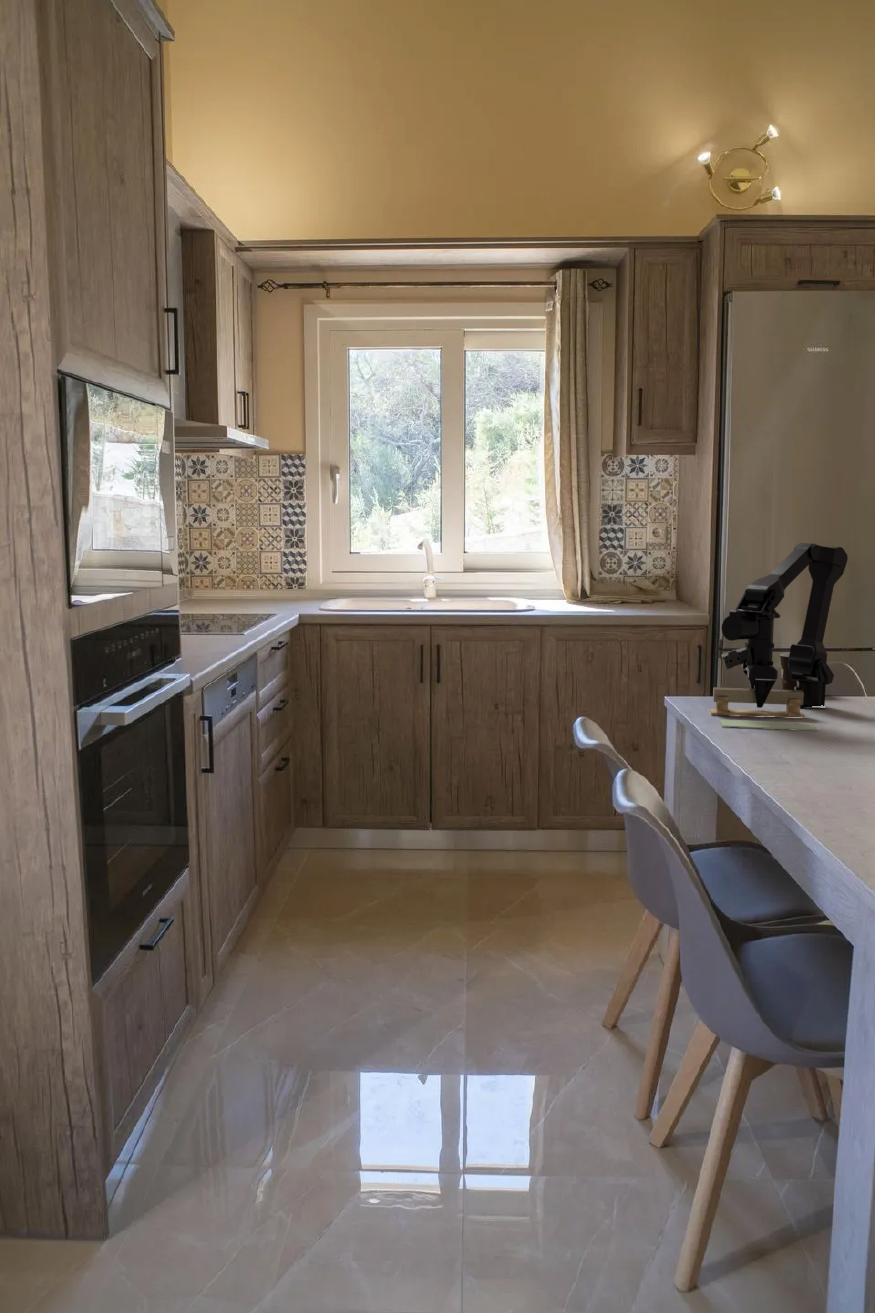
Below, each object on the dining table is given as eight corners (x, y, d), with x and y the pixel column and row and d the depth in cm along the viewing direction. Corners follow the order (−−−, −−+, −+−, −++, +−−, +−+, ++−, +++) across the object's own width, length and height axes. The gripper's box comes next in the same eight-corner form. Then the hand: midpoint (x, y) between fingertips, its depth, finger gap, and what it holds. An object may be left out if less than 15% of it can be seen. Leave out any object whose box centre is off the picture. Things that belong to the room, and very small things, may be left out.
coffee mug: (806, 696, 261) (808, 658, 260) (773, 693, 266) (775, 655, 265) (820, 690, 270) (822, 653, 269) (788, 687, 276) (789, 651, 274)
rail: (801, 703, 235) (801, 690, 235) (803, 705, 232) (803, 692, 232) (713, 699, 239) (713, 687, 239) (713, 701, 237) (714, 689, 236)
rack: (801, 714, 237) (802, 696, 236) (805, 719, 231) (806, 700, 231) (709, 711, 241) (710, 692, 240) (711, 715, 236) (712, 696, 235)
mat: (812, 724, 225) (812, 723, 225) (817, 731, 218) (817, 729, 218) (720, 721, 229) (720, 719, 229) (722, 727, 222) (722, 725, 222)
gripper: (721, 632, 245) (719, 696, 247) (727, 641, 226) (724, 709, 228) (769, 634, 242) (766, 697, 244) (779, 643, 224) (776, 711, 226)
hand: (757, 704), depth 236 cm, fingers open, 9 cm apart
